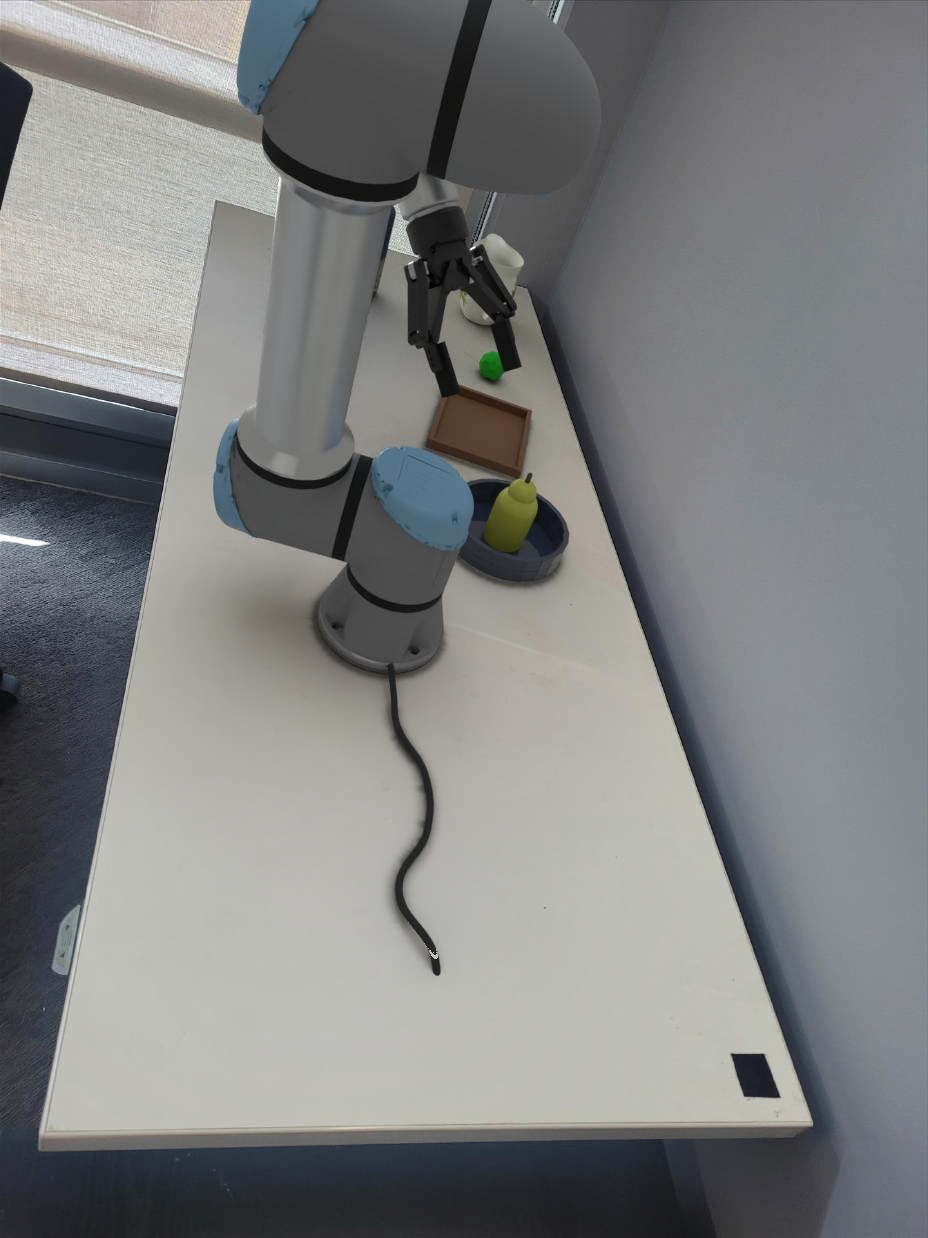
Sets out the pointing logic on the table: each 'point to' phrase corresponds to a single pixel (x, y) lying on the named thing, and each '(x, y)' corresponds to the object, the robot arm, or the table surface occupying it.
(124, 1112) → the table surface
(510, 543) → the pear
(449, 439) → the tray
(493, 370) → the polyhedron
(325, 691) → the table surface
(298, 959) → the table surface
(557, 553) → the bowl
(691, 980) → the table surface
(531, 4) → the robot arm
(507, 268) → the pitcher
